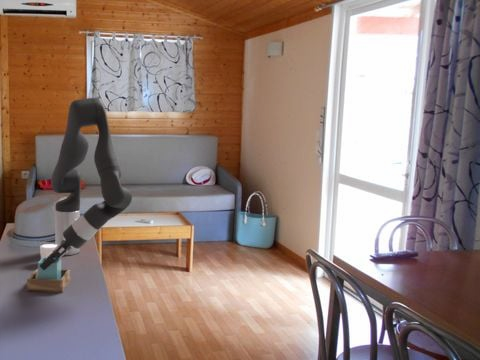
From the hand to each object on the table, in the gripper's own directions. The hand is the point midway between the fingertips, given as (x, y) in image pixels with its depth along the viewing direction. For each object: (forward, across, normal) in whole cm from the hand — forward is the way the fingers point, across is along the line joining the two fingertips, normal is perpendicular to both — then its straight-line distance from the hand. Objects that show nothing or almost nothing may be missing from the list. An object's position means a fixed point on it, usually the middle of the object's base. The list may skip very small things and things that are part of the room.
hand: (45, 264), depth 189 cm
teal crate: (+4, 0, +6) cm, 7 cm away
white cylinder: (+9, -24, +2) cm, 26 cm away
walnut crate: (+4, 0, +6) cm, 8 cm away
